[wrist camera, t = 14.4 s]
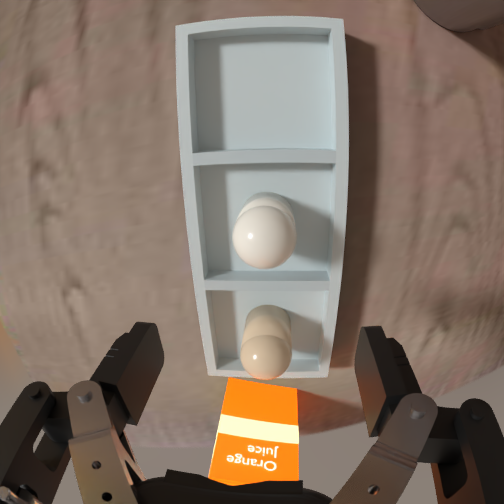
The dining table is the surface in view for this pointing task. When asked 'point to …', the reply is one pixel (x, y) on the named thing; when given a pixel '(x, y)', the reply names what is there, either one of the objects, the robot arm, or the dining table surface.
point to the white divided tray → (265, 175)
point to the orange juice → (256, 434)
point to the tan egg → (266, 342)
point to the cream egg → (265, 231)
